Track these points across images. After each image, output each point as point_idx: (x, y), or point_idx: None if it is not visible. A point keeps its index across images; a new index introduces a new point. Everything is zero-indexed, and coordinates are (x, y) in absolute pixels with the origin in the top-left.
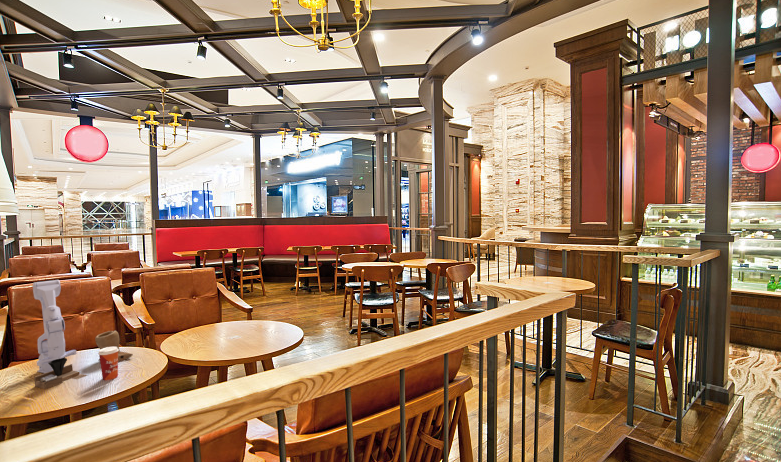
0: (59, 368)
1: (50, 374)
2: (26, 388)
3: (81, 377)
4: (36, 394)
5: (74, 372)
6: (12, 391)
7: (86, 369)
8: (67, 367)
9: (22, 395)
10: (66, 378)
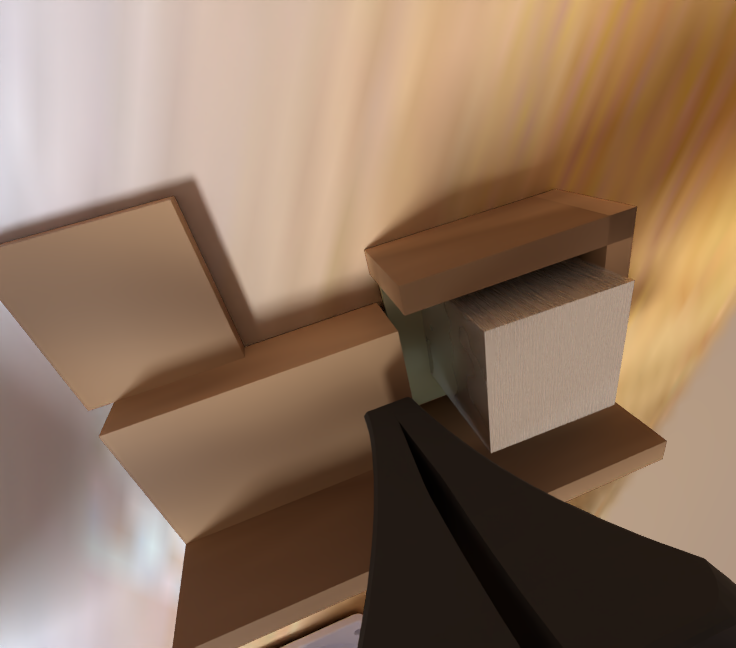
0: (459, 487)
1: None
2: None
3: (90, 231)
4: (652, 138)
5: (174, 453)
6: None
7: (16, 565)
8: (251, 593)
9: (686, 253)
10: (303, 344)
